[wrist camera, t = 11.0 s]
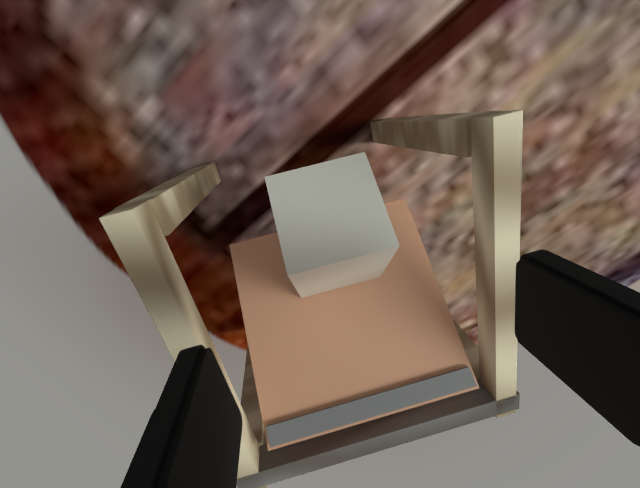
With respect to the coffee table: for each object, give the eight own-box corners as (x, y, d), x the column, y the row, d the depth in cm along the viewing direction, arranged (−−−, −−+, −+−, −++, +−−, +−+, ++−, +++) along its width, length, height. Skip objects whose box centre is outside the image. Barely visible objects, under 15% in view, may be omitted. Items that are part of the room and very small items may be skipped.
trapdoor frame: (195, 166, 25) (93, 219, 11) (388, 118, 26) (527, 108, 12) (256, 327, 32) (241, 495, 17) (410, 284, 32) (519, 410, 18)
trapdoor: (233, 249, 21) (228, 243, 20) (401, 204, 22) (405, 196, 20) (271, 445, 17) (267, 452, 16) (471, 385, 18) (482, 388, 17)
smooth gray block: (283, 225, 20) (264, 176, 15) (356, 206, 21) (364, 151, 15) (301, 298, 19) (287, 275, 13) (380, 277, 19) (399, 245, 13)
